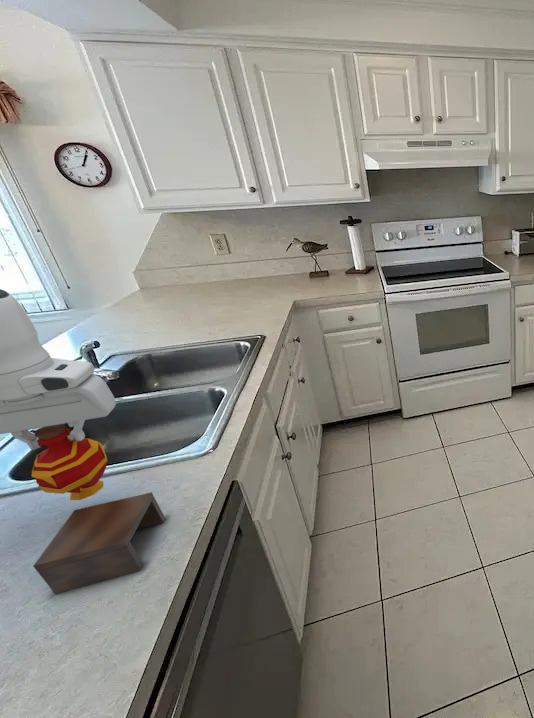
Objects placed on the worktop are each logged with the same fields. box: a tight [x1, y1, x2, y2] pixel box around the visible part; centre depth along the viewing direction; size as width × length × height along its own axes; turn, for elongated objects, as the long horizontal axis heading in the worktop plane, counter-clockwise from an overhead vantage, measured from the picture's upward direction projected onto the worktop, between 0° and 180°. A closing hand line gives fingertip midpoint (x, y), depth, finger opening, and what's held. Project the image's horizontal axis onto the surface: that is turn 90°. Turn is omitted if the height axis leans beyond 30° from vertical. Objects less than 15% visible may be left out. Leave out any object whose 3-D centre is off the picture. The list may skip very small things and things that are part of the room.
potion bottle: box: [31, 423, 108, 501], centre depth 78 cm, size 10×10×15 cm
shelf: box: [33, 492, 166, 595], centre depth 74 cm, size 12×12×7 cm
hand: (59, 443), depth 77 cm, fingers closed on potion bottle, 4 cm apart
